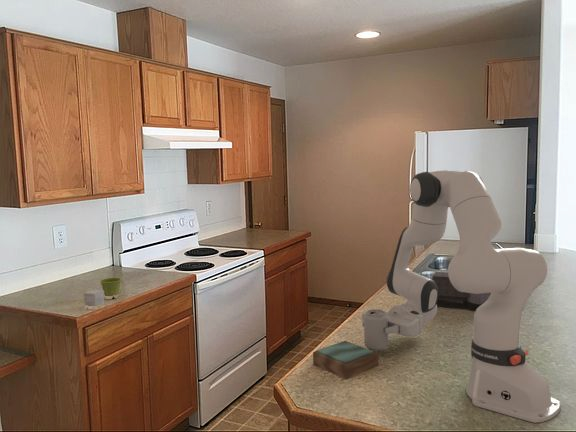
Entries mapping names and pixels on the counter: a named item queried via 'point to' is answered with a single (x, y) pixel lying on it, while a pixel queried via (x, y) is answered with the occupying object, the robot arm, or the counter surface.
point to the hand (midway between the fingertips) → (374, 327)
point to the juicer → (456, 295)
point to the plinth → (345, 359)
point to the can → (375, 330)
